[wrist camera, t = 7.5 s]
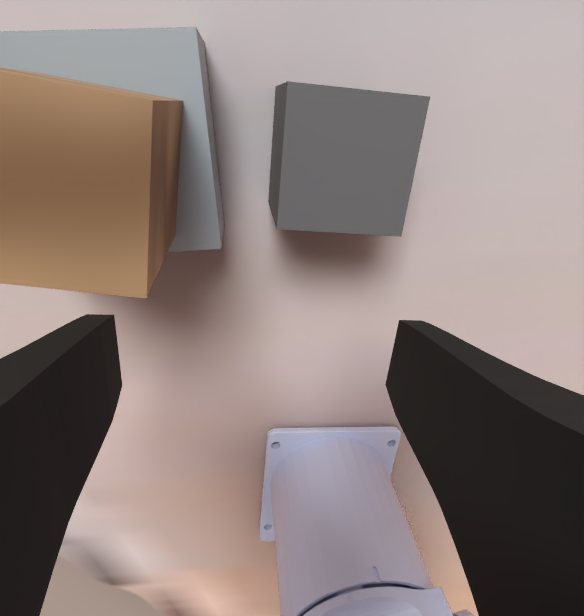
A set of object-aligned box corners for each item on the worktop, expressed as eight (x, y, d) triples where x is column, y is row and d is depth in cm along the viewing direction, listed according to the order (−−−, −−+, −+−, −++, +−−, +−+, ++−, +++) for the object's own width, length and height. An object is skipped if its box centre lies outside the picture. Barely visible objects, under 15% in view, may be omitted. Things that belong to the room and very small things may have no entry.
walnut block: (175, 235, 15) (146, 298, 10) (41, 217, 14) (-58, 277, 10) (183, 100, 13) (152, 100, 9) (30, 71, 13) (-101, 52, 8)
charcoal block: (366, 208, 19) (401, 236, 15) (268, 201, 18) (276, 229, 14) (385, 97, 17) (430, 96, 13) (275, 86, 16) (287, 81, 12)
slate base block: (224, 224, 19) (221, 248, 16) (63, 235, 18) (26, 262, 15) (204, 42, 16) (195, 27, 13) (9, 47, 15) (-51, 32, 12)
